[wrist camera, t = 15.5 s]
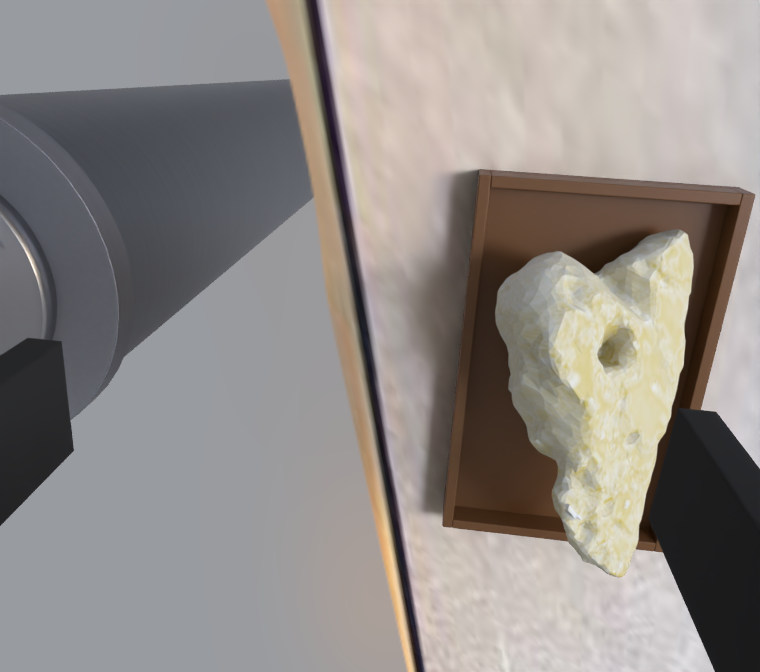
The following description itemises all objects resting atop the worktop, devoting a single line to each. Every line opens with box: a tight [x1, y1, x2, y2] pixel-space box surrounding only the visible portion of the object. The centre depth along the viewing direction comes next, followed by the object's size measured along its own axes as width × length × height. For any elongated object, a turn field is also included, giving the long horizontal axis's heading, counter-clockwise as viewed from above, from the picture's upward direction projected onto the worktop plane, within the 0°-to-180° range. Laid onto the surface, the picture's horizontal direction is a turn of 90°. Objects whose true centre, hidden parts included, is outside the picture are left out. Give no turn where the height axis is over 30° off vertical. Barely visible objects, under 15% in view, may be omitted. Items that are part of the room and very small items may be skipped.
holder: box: [442, 169, 755, 552], centre depth 38 cm, size 13×21×2 cm, turn 177°
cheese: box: [495, 229, 694, 577], centre depth 35 cm, size 15×7×15 cm
